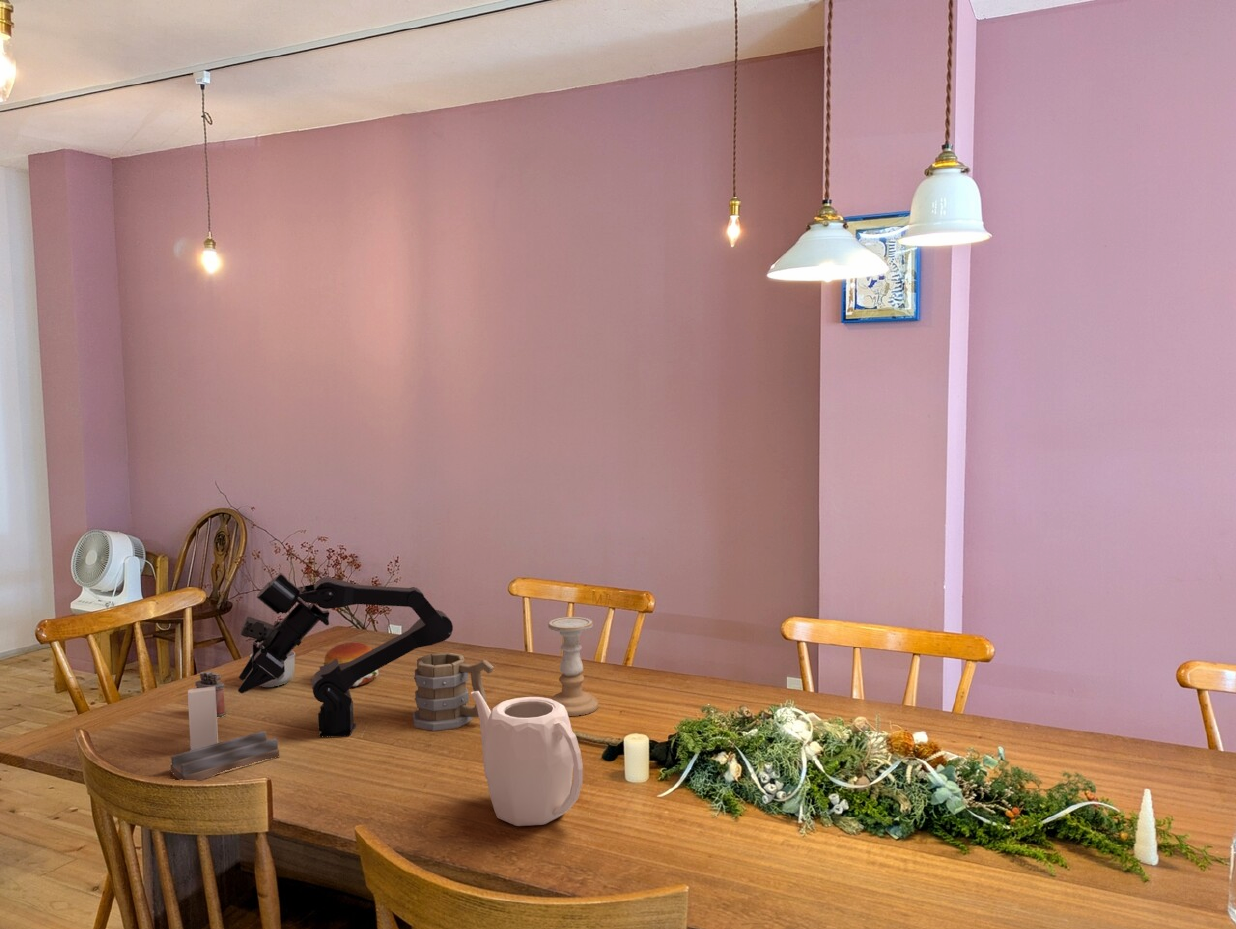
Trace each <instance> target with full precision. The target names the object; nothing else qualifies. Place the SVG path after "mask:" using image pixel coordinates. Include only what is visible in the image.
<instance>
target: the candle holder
mask: <svg viewBox="0 0 1236 929" xmlns="http://www.w3.org/2000/svg"><path fill="white" fill-rule="evenodd" d="M593 626H594V621H593V620H592V619H590V618H587V617H581V616H567V617H566V616H565V617H559V618H554V619H551V620H549V621H548V624H547V627H548V629H550V630H551V631H554V632H558V633H559V635H560V636H562V639H563V642H562V644H560V646H559V649H560V650H562V656H561V661H560V663H559V671H560V672H561V673H562V674H561V675H560V676H559V677H558V682H560V684H561V691H560V692H557V693H555V694H554V695H553V696H551V697H549V699H552V700H554V701H556V702H558V703H560V704H562V705H564V707H565V709H566V711H567V713H568V717H579V715H581V716H585V714H586V715H588V714H589V715H590V714H591V713H594V712H595V711H597V710H598V708H599V705H600V704H599V701H598V699H597V697H595V696H594V695H591V694H590V693H588V692H586V691H583V687H582V683H583V682H584V681H585V677H584V675H583V674H582V673H581V672H583V670H584V664H583V662H582V657H581V654H580V652H581V651H580V650H582V648H583V646H582V644H581V643H580V642H579V638H580V636H581V635H582V633H583V632H585V631H588V630H590V629H592V628H593Z"/></svg>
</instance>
